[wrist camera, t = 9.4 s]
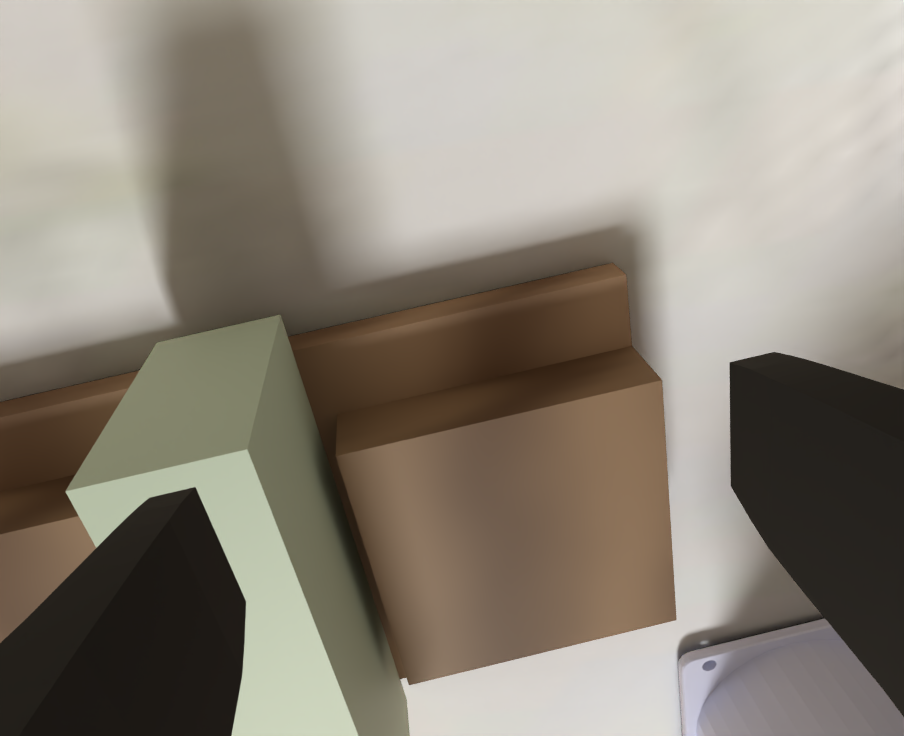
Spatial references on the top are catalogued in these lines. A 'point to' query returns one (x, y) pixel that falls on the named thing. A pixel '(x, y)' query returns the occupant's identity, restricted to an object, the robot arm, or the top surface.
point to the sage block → (256, 524)
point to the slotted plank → (434, 472)
